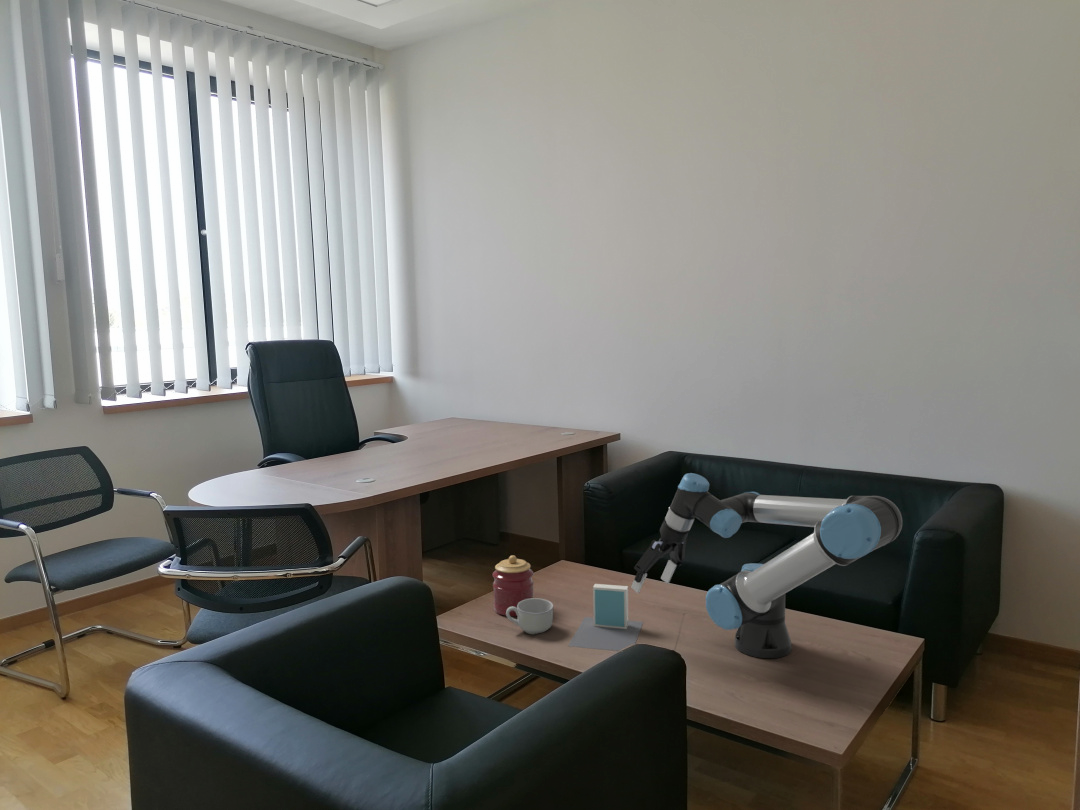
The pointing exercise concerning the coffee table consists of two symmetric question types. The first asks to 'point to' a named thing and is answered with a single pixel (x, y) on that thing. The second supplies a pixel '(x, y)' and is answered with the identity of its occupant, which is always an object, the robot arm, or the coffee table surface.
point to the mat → (605, 636)
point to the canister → (511, 584)
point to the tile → (610, 606)
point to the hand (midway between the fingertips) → (650, 585)
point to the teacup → (533, 615)
